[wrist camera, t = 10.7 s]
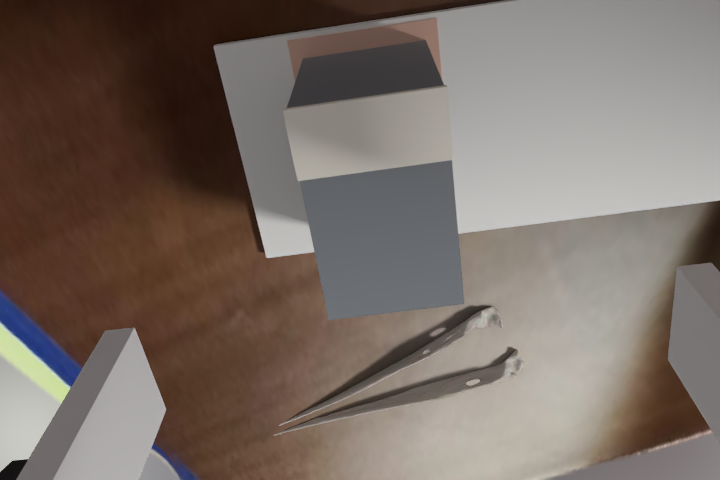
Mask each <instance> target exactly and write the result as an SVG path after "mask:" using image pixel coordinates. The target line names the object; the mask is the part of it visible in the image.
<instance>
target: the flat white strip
mask: <svg viewBox="0 0 720 480" xmlns="http://www.w3.org/2000/svg"><path fill="white" fill-rule="evenodd" d="M423 40H426V42H427V44H428V47H429V49H430V51H431V54H432V56H433V59H434V61H435V64H436V66H437V69H438V71H439V74H440V76H441V79H442V81H443V84H444V85H447V87H448V98H449V110H450V122H451V134H452V145H453V157H454V160H452V167H453V179H454V191H455V202H456V214H457V225H458V234H460V233H468V232H475V231H483V230H491V229H499V228H507V227H515V226H523V225H530V224H538V223H546V222H554V221H562V220H570V219H577V218H585V217H593V216H601V215H609V214H617V213H625V212H632V211H640V210H648V209H656V208H664V207H672V206H679V205H687V204H695V203H703V202H711V201H719V200H720V0H503V1H497V2H490V3H484V4H477V5H471V6H464V7H457V8H451V9H444V10H438V11H431V12H425V13H418V14H412V15H405V16H398V17H392V18H385V19H379V20H372V21H366V22H359V23H353V24H346V25H339V26H333V27H326V28H320V29H313V30H307V31H300V32H294V33H287V34H280V35H274V36H267V37H261V38H254V39H248V40H241V41H235V42H228V43H222V44H215V45H214V46H213V47H214V51H215V55H216V59H217V63H218V67H219V71H220V75H221V79H222V83H223V87H224V91H225V95H226V99H227V103H228V107H229V111H230V115H231V119H232V123H233V127H234V131H235V135H236V139H237V143H238V147H239V151H240V155H241V159H242V163H243V167H244V171H245V175H246V178H247V182H248V186H249V190H250V194H251V198H252V202H253V206H254V210H255V214H256V218H257V222H258V226H259V230H260V234H261V238H262V242H263V246H264V250H265V254H266V258H271V257H279V256H287V255H295V254H303V253H311V252H314V247H313V242H312V238H311V233H310V228H309V223H308V219H307V214H306V209H305V204H304V200H303V195H302V190H301V185H300V181H297V176H296V172H295V167H294V162H293V157H292V153H291V148H290V143H289V139H288V134H287V129H286V125H285V120H284V115H283V109H284V108H287V105H288V102H289V99H290V96H291V93H292V90H293V87H294V84H295V81H296V78H297V75H298V72H299V69H300V66H301V63H302V60H303V58H310V57H317V56H323V55H330V54H337V53H343V52H350V51H357V50H363V49H370V48H376V47H383V46H390V45H396V44H403V43H410V42H416V41H423Z"/></svg>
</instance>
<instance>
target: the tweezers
mask: <svg viewBox="0 0 720 480" xmlns="http://www.w3.org/2000/svg"><path fill="white" fill-rule="evenodd" d="M490 326H496V327H500V328H502V327H503V323H502V322H501V317H500V315H499V312H498V310H497V309H495V308H494V307H489V308H486V309H483V310H481V311H479V312H477V313H475V314H474V315H472V316H471V317H470V318H468V319H467V320H466V321H464V322H463V323H461V324H459V325H458V326H456V327H455V328H454V329H452V330H451V331H450V332H448V333H446V334H444V335H442V336H441V337H439V338H437V339H436V340H434V341H432V342H431V343H429V344H427V345H426V346H424V347H422V348H421V349H419V350H418V351H416V352H414V353H413V354H411V355H409V356H407V357H405V358H404V359H402V360H400V361H398V362H396V363H395V364H393V365H391V366H389V367H387V368H385V369H384V370H382V371H380V372H378V373H376V374H375V375H373V376H371V377H369V378H367V379H366V380H364V381H362V382H360V383H358V384H357V385H355V386H353V387H351V388H349V389H348V390H346V391H344V392H342V393H340V394H338V395H336V396H335V397H333V398H331V399H329V400H327V401H325V402H323V403H321V404H319V405H317V406H315V407H312V408H311V409H309V410H306V411H304V412H303V413H301V414H299V415H297V416H295V417H293V418H291V419H289V420H287V421H285V422H283V423H282V424H280V425H283V424H285V423H288V422H290V421H293V420H296V419H298V418H301V417H303V416H305V415H309V414H311V413H313V412H315V411H318V410H320V409H322V408H325V407H327V406H330V405H332V404H334V403H337V402H339V401H342V400H344V399H346V398H348V397H350V396H352V395H354V394H356V393H358V392H360V391H363V390H365V389H367V388H369V387H370V386H372V385H374V384H376V383H378V382H380V381H382V380H383V379H385V378H387V377H389V376H391V375H393V374H395V373H397V372H399V371H401V370H403V369H405V368H407V367H410V366H412V365H414V364H416V363H418V362H420V361H422V360H424V359H426V358H428V357H430V356H432V355H434V354H436V353H437V352H439V351H441V350H443V349H445V348H447V347H448V346H450V345H452V344H453V343H454V342H456V341H458V340H460V339H462V338H464V337H465V336H466V335H467V333H468V332H469V331H470V330H471V329H473V328H484V327H490ZM426 353H427V354H426ZM524 362H525V361H524V359H523V358H522V357H521V356H520V354H519V352H518V350H515V351H514V352H513V353H512V354H511V355H510V356H509V357H508V358H507V359H506V360H505V361H504V362H502V363H501V364H499V365H496V366H493V367H489V368H485V369H481V370H477V371H473V372H469V373H466V374H463V375H458V376H455V377H452V378H448V379H445V380H441V381H437V382H434V383H430V384H427V385H423V386H420V387H416V388H413V389H410V390H408V391H405V392H403V393H400V394H397V395H394V396H391V397H388V398H385V399H382V400H378V401H375V402H371V403H367V404H364V405H360V406H356V407H353V408H350V409H347V410H343V411H340V412H337V413H332V414H330V415H328V416H325V417H320V418H315V419H313V420H311V421H308V422H306V423H303V424H300V425H297V426H294V427H292V428H289V429H287V430H284V431H281V432H279V433H277V434H275V435H279V434H282V433H285V432H289V431H293V430H297V429H301V428H305V427H309V426H313V425H317V424H321V423H325V422H331V421H335V420H339V419H344V418H349V417H354V416H357V415H362V414H367V413H372V412H376V411H381V410H386V409H391V408H397V407H403V406H408V405H413V404H418V403H423V402H429V401H434V400H440V399H444V398H448V397H451V396H454V395H457V394H460V393H463V392H466V391H469V390H472V389H475V388H479V387H482V386H486V385H490V384H493V383H496V382H499V383H502V382H504V381H506V380H509V379H512V378H515V377H517V375H516V373H518V372H520V371H521V370H522V367H523V365H524ZM474 379H480V382H479V383H477V384H475V385H472V386H468V385H466V382H467V381H470V380H474ZM280 425H279V426H280ZM273 436H274V435H273Z"/></svg>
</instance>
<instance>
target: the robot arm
mask: <svg viewBox="0 0 720 480" xmlns="http://www.w3.org/2000/svg"><path fill="white" fill-rule="evenodd" d="M668 361H669V362H670V364H671V365H672V367H673V369H674V370H675V372H676V373H677V375H678V377H679V378H680V380H681V382H682V383H683V385H684V386H685V388H686V390H687V391H688V393H689V395H690V396H691V398H692V399H693V401H694V403H695V404H696V406H697V408H698V409H699V411H700V412H701V414H702V416H703V417H704V419H705V421H706V422H707V424H708V425H709V427H710V429H711V430H712V432H713V433H714V435H715V437H716V438H717V440H718V441H719V443H720V272H719V271H718V270H717V269H716V267H715V266H714V265H713V264H712V263H705V264H696V265H687V266H678V267H677V273H676V283H675V293H674V303H673V313H672V323H671V333H670V342H669V352H668ZM165 412H166V408H165V405H164V402H163V400H162V397H161V395H160V392H159V389H158V387H157V384H156V382H155V379H154V377H153V374H152V371H151V369H150V366H149V364H148V361H147V358H146V356H145V353H144V351H143V348H142V345H141V343H140V340H139V338H138V335H137V333H136V330H135V327H134V328H125V329H116V330H107V331H105V332H104V334H103V335H102V337H101V339H100V340H99V342H98V344H97V345H96V347H95V349H94V350H93V352H92V354H91V355H90V357H89V359H88V360H87V362H86V364H85V365H84V367H83V369H82V370H81V372H80V374H79V375H78V377H77V379H76V380H75V382H74V384H73V385H72V387H71V389H70V390H69V392H68V394H67V395H66V397H65V399H64V400H63V402H62V404H61V406H60V407H59V409H58V411H57V412H56V414H55V416H54V417H53V419H52V421H51V423H50V424H49V426H48V427H47V429H46V431H45V432H44V434H43V436H42V437H41V439H40V441H39V442H38V444H37V446H36V447H35V449H34V451H33V452H32V454H31V456H30V457H29V459H27V460H17V461H12V462H11V463H10V464H9V465H7V466H6V467H5V468H4V469H3V470H2V471H1V472H0V480H139V478H140V475H141V473H142V470H143V468H144V465H145V462H146V460H147V458H148V455H149V452H150V450H151V447H152V445H153V442H154V440H155V437H156V435H157V432H158V430H159V427H160V424H161V422H162V419H163V417H164V414H165Z"/></svg>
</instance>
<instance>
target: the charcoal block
mask: <svg viewBox="0 0 720 480" xmlns="http://www.w3.org/2000/svg"><path fill="white" fill-rule="evenodd" d="M283 115H284V120H285V125H286V129H287V134H288V139H289V143H290V148H291V153H292V157H293V162H294V167H295V172H296V176H297V181H300V185H301V190H302V195H303V200H304V204H305V209H306V214H307V219H308V223H309V228H310V233H311V238H312V242H313V247H314V252H315V257H316V261H317V266H318V271H319V276H320V280H321V285H322V290H323V295H324V299H325V304H326V309H327V314H328V318H329V320H334V319H343V318H351V317H359V316H368V315H376V314H384V313H392V312H401V311H409V310H417V309H426V308H434V307H442V306H450V305H459V304H464V295H463V284H462V272H461V260H460V249H459V237H458V225H457V214H456V202H455V191H454V179H453V167H452V160H454V157H453V145H452V134H451V122H450V110H449V98H448V87H447V85H444V84H443V81H442V79H441V76H440V74H439V71H438V69H437V66H436V64H435V61H434V59H433V56H432V54H431V51H430V49H429V47H428V44H427V42H426V40H423V41H416V42H410V43H403V44H396V45H390V46H383V47H376V48H370V49H363V50H357V51H350V52H343V53H337V54H330V55H323V56H317V57H310V58H303V60H302V63H301V66H300V69H299V72H298V75H297V78H296V81H295V84H294V87H293V90H292V93H291V96H290V99H289V102H288V105H287V108H284V109H283Z"/></svg>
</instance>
